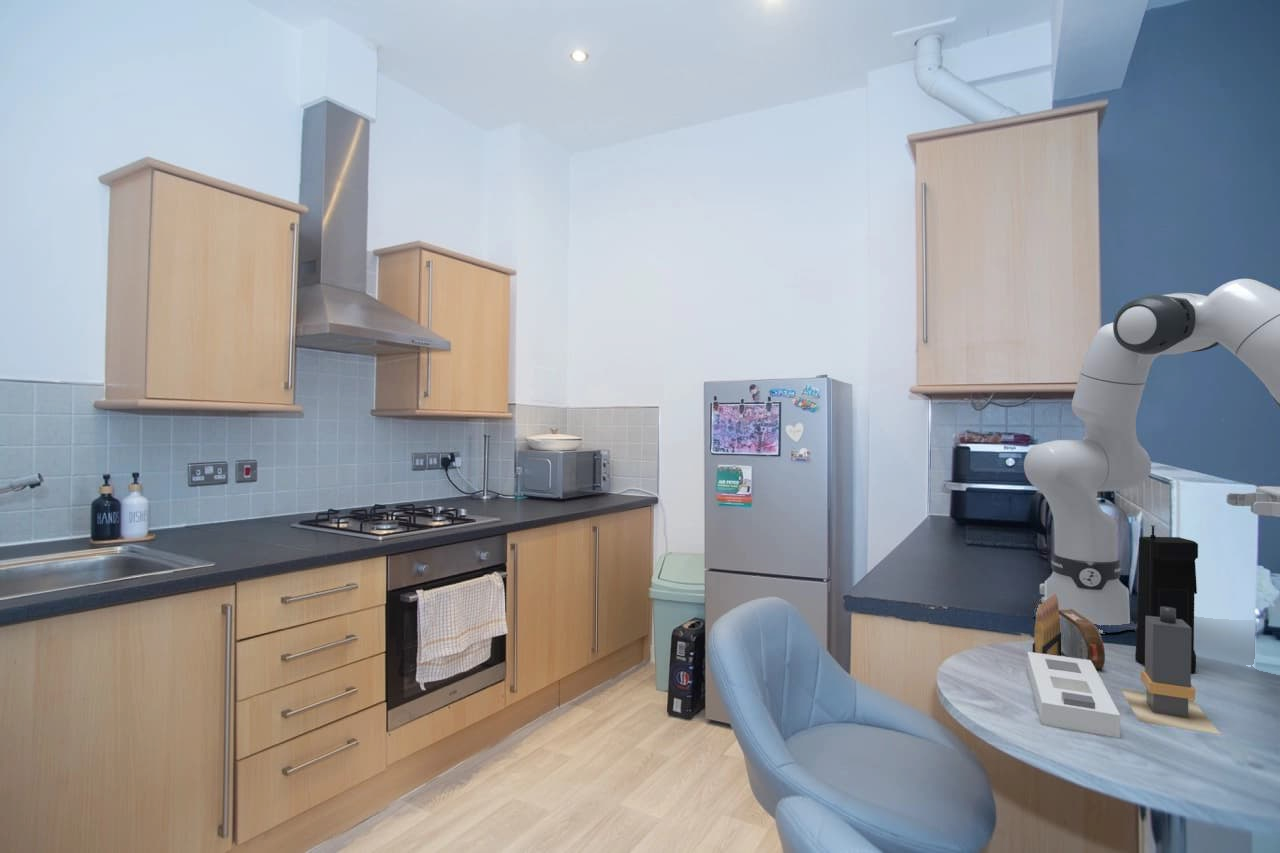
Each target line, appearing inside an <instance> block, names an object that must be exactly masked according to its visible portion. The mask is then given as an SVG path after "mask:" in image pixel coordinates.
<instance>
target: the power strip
mask: <svg viewBox="0 0 1280 853" xmlns="http://www.w3.org/2000/svg"><path fill="white" fill-rule="evenodd" d="M1026 659H1027V660H1026V661H1027V662H1026V665H1027V666H1026V667H1027V669H1026V670H1027V672H1028V678H1029V681H1030V685H1031V688H1032V689H1031V690H1032V692H1033V696H1034V700H1035V704H1036V707H1037V711H1038V715H1039V718H1040V719H1039V720H1040V722H1041V725H1045V726H1051V727H1056V728H1061V729H1066V730H1067V729H1068V730H1072V731H1079V732H1085V733H1091V734H1097V735H1102V736H1107V737H1113V738H1118V739H1120V738H1121V714H1120V713H1119V711H1118V708H1117V706H1116V705H1115V703H1114V701H1113V699H1112V697H1111V695H1110V693H1109V692H1108V690H1107V688H1106V686H1105V683H1104V682H1103V680H1102V678H1101V676H1100V675H1099V673H1098V671H1097V669H1095V667H1094V665H1093V663H1092V661H1091V660H1086V659H1078V658H1071V657H1066V656H1064V655H1061V656H1056V655H1049V654H1041V653H1034V652H1032V651H1027V657H1026Z"/></svg>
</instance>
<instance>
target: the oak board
mask: <svg viewBox="0 0 1280 853" xmlns="http://www.w3.org/2000/svg"><path fill="white" fill-rule="evenodd" d="M1120 691H1121V693H1122V694H1123V696H1124V698H1125V700H1126V702H1127V703H1128V704H1129V706H1130V708H1131V710H1132V711H1133V713H1134V714H1135V716H1136V718H1137V719H1138V721H1139V722H1142V723H1148V724H1154V725H1159V726H1167V727H1170V728H1171V727H1173V728H1179V729H1185V730H1191V731H1197V732H1203V733H1209V734H1213V735H1214V734H1216V735H1222V734H1221V732H1220V731H1219V730H1218V728H1217V727H1216V726H1215V725H1214V724H1213V722H1212V721H1211V720H1210V719H1209V718H1208V716H1207V715H1206V714H1205V713H1204V712H1203V710H1202V709H1201V708H1200V706H1198V705H1197V703H1196V702H1195V700H1194V699H1188V718H1184V717H1178V716H1172V715H1165V714H1159V713H1153V711H1152V710H1151V708H1150V707H1149V705H1148V703H1147V702H1146V697H1147V692H1143V691H1137V690H1136V691H1135V690H1128V689H1123V688H1120Z"/></svg>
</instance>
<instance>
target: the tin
mask: <svg viewBox="0 0 1280 853" xmlns="http://www.w3.org/2000/svg"><path fill="white" fill-rule="evenodd" d="M1059 617H1060V632H1061V655H1062V656H1064V655H1065V656H1064V657H1071V658H1078V659H1086V660H1091V661H1092V663H1093V665H1094V667H1095V669H1096V670H1103V669H1104V667H1105V664H1106V651H1105V646H1104V641H1103V638H1102V635H1101V633H1099V631H1098V629H1097V627H1096V626H1095V625H1094V624H1093V623H1092V622H1091V621H1089V620H1088V619H1086V618H1085V617H1083V616H1082V615H1080V614H1079V613H1077V612H1076V611H1075V610H1073V609H1070V610H1059Z"/></svg>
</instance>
